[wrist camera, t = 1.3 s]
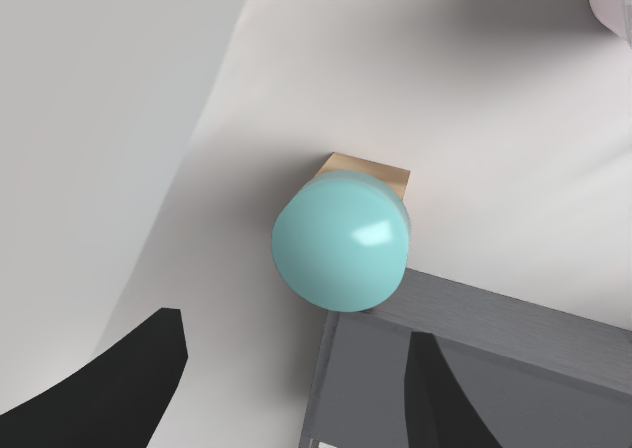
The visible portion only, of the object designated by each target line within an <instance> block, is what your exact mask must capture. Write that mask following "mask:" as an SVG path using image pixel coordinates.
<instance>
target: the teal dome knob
mask: <svg viewBox="0 0 632 448" xmlns="http://www.w3.org/2000/svg"><path fill="white" fill-rule="evenodd" d="M410 239H411V224H410V219H409V215H408V213H407V210H406V208H405V206H404V204H403V202H402V201H401V199H400V198H399V196H398V195H397V194H396V193H395V192H394V191H393V190H392V189H391V188H390V187H389V186H388V185H386V184H385V183H384V182H382V181H381V180H379V179H377V178H376V177H373V176H371V175H369V174H366V173H363V172H359V171H353V170H335V171H330V172H326V173H323V174H321V175H318V176H317V177H315V178H313V179H311V180H310V181H309V182H307V183H306V184H305V185H304V186H303V187H302V188H301V189H300V190H299V192H298V193H297V194H296V195H295V196H294V197H293V199H292V200H291V201H290V202H289V203H288V204H287V206H286V207H285V208H284V209H283V210H282V212H281V213H280V214H279V216H278V218H277V220H276V222H275V224H274V227H273V231H272V236H271V250H272V255H273V260H274V262H275V265H276V267H277V269H278V271H279V273H280V275H281V276H282V278H283V280H284V281H285V282H286V283H287V284H288V286H289V287H290V288H291V289H292V290H293V291H294V292H295V293H297V294H298V295H299V296H301V297H302V298H304V299H305V300H307V301H308V302H310V303H312V304H314V305H316V306H319V307H322V308H325V309H329V310H333V311H340V312H353V311H361V310H365V309H368V308H371V307H374V306H376V305H378V304H380V303H381V302H383V301H384V300H386V299H387V298H388V297H389V296H390V295H391V294H392V293H393V292H394V291H395V290H396V288H397V287H398V285H399V283H400V282H401V280H402V277H403V274H404V271H405V266H406V261H407V255H408V250H409V245H410Z"/></svg>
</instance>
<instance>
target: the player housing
mask: <svg viewBox="0 0 632 448" xmlns="http://www.w3.org/2000/svg"><path fill="white" fill-rule="evenodd" d="M411 331H414V332H425V333H432V334H433V335H434V336H435V337H436V339H437V342H438V344H439V346H440V348H441V351H442V353H443V355H444V357H445V359H446V361H447V362H448V364H449V366H450V368H451V370H452V372H453V374H454V375H455V377H456V379H457V381H458V382H459V384H460V386H461V387H462V389H463V391H464V393H465V394H466V396H467V397H468V399H469V401H470V402H471V404H472V405H473V407H474V408H475V410H476V411H477V413H478V414H479V416H480V417H481V419H482V420H483V422H484V423H485V424H486V426H487V427H488V429H489V430H490V431H491V433H492V434H493V435H494V437H495V438H496V439H497V441H498V442H499V443H500V444H501V446H502V447H503V448H632V331H628V330H625V329H621V328H618V327H614V326H610V325H607V324H603V323H600V322H596V321H593V320H589V319H585V318H582V317H578V316H575V315H571V314H568V313H564V312H561V311H557V310H553V309H550V308H546V307H543V306H539V305H536V304H532V303H529V302H525V301H521V300H518V299H514V298H511V297H507V296H504V295H500V294H496V293H493V292H489V291H486V290H482V289H479V288H475V287H472V286H468V285H464V284H461V283H457V282H454V281H450V280H447V279H443V278H440V277H436V276H432V275H429V274H425V273H422V272H418V271H415V270H411V269H407V268H405V271H404V274H403V277H402V280H401V282H400V283H399V285H398V287H397V288H396V290H395V291H394V292H393V293H392V294H391V295H390V296H389V297H388V298H387V299H386V300H384V301H383V302H381V303H380V304H378V305H376V306H374V307H371V308H368V309H365V310H361V311H353V312H340V311H333V310H329V309H328V312H327V317H326V321H325V326H324V331H323V335H322V340H321V345H320V349H319V354H318V359H317V363H316V368H315V373H314V377H313V382H312V387H311V391H310V396H309V401H308V405H307V410H306V415H305V419H304V424H303V429H302V433H301V438H300V442H299V447H298V448H311V445H312V442H313V439H314V440H317V441H320V442H322V443H325V444H328V445H331V446H334V447H336V448H409V444H408V437H407V429H406V420H405V408H404V377H405V370H406V364H407V357H408V350H409V344H410V337H411Z"/></svg>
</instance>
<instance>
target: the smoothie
mask: <svg viewBox="0 0 632 448" xmlns="http://www.w3.org/2000/svg"><path fill="white" fill-rule="evenodd" d="M589 3H590V6H591V9H592V11H593V13H594V15H595V16H596V18H597V19H598V20H599V21H600V22H601V23H602V24H603V25H605V26H606V27H608V28H609V29H610V30H612V31H613V32H614V33H616V34H617V35H618V36H620V37H621V38H622V39H624V40H625V41H627V42H628V44H629V46H630V47H631V49H632V0H589Z"/></svg>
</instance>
